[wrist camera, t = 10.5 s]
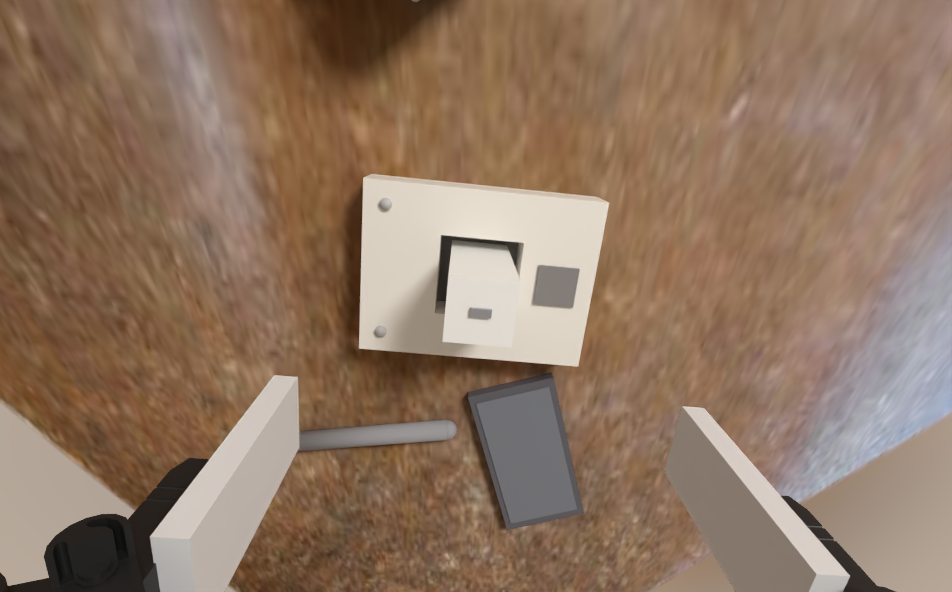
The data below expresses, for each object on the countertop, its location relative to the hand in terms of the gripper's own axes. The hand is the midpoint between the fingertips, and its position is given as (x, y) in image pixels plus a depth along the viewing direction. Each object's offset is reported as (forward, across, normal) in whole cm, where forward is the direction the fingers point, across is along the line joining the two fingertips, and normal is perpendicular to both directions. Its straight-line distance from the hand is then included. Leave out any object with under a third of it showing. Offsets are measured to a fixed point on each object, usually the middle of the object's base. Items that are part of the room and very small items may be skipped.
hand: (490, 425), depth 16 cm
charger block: (+20, 0, 0) cm, 20 cm away
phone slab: (+20, +6, -16) cm, 27 cm away
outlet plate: (+20, 0, 0) cm, 20 cm away
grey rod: (+21, -7, -15) cm, 26 cm away
